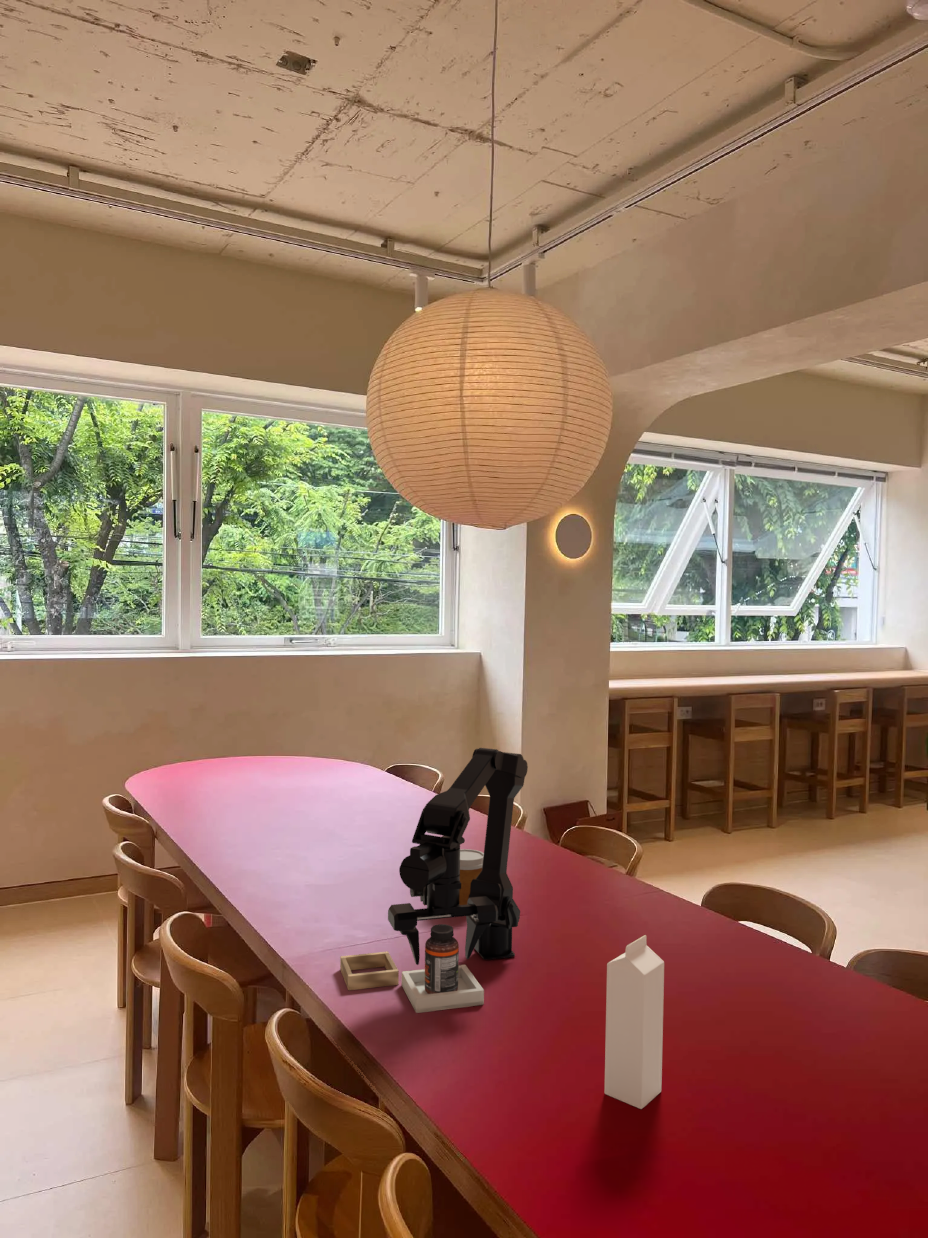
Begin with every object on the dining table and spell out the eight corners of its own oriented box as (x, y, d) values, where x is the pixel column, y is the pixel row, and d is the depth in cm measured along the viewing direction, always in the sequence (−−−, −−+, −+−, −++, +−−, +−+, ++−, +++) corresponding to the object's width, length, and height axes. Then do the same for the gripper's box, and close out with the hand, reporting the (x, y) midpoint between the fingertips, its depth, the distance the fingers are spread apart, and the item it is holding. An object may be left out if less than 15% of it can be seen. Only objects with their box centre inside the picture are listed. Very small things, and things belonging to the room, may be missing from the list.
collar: (387, 964, 170) (388, 951, 170) (398, 984, 161) (398, 971, 161) (340, 969, 167) (340, 956, 167) (348, 990, 158) (348, 976, 158)
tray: (465, 978, 164) (465, 964, 164) (483, 1004, 154) (484, 990, 154) (401, 985, 161) (401, 971, 161) (416, 1013, 150) (416, 998, 150)
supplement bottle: (421, 985, 159) (421, 923, 159) (453, 982, 161) (454, 920, 161) (428, 1000, 154) (429, 935, 153) (461, 997, 155) (462, 932, 155)
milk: (661, 1092, 128) (666, 940, 127) (641, 1110, 123) (646, 952, 122) (624, 1077, 131) (628, 929, 131) (602, 1094, 127) (607, 940, 126)
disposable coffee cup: (482, 916, 196) (483, 862, 195) (440, 912, 198) (440, 859, 197) (489, 902, 205) (490, 850, 205) (449, 898, 207) (450, 847, 207)
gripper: (479, 856, 167) (478, 938, 167) (382, 864, 162) (380, 949, 162) (499, 874, 156) (498, 962, 157) (395, 883, 151) (394, 974, 151)
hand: (442, 961), depth 157 cm, fingers open, 9 cm apart
